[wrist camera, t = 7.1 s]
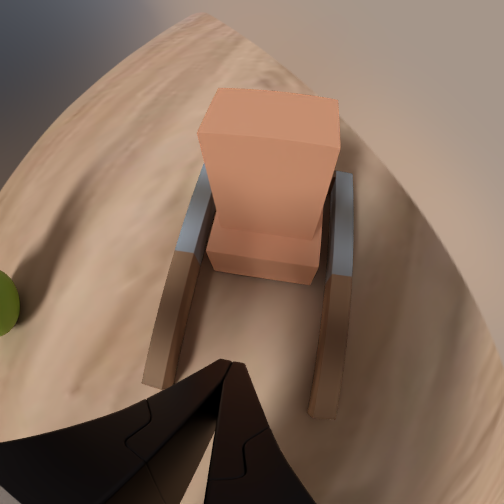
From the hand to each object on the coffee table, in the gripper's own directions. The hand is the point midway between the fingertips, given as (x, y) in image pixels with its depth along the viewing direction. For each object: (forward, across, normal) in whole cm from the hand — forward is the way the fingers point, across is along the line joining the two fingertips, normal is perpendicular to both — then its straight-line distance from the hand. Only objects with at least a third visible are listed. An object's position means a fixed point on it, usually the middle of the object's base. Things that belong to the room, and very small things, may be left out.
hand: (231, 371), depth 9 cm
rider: (+12, 0, +1) cm, 12 cm away
